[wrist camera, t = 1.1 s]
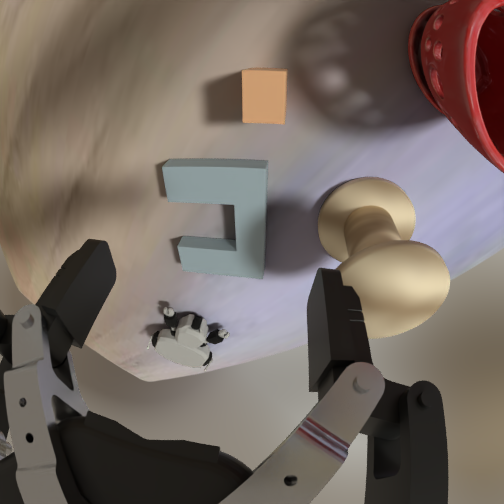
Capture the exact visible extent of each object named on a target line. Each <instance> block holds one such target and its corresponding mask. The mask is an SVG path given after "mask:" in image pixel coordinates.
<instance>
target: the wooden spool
mask: <svg viewBox="0 0 504 504" xmlns="http://www.w3.org/2000/svg"><path fill="white" fill-rule="evenodd" d="M414 227H415V211H414V207H413V205H412V203H411V201H410V199H409V198H408V196H407V195H406V193H405V192H404V191H403V190H402V189H401V188H400V187H399V186H398V185H396V184H395V183H393V182H391V181H389V180H386V179H383V178H379V177H363V178H357V179H354V180H351V181H349V182H346V183H344V184H343V185H341V186H339V187H338V188H337V189H335V190H334V191H333V192H332V193H331V194H330V195H329V196H328V197H327V199H326V200H325V201H324V203H323V205H322V207H321V209H320V212H319V216H318V233H319V238H320V241H321V244H322V245H323V247H324V249H325V250H326V251H327V252H328V253H329V254H330V255H331V256H332V257H333V258H335V259H336V260H338V261H340V262H343V263H341V264H340V265H339V266H338V267H337V268H336V269H335V270H340V272H341V276H342V281H343V285H346V286H352V287H353V289H354V290H355V291H356V293H357V294H358V296H359V297H360V302H361V306H362V312H363V315H364V323H365V325H366V330H367V336H368V339H371V338H372V339H374V338H384V337H389V336H394V335H397V334H400V333H403V332H406V331H408V330H411V329H413V328H415V327H416V326H418V325H420V324H421V323H423V322H424V321H426V320H427V319H428V318H430V317H431V316H432V315H433V314H434V313H435V312H436V311H437V310H438V309H439V307H440V306H441V305H442V303H443V302H444V300H445V298H446V296H447V294H448V291H449V287H450V275H449V272H448V269H447V267H446V265H445V263H444V261H443V259H442V257H441V256H440V254H439V253H438V252H437V251H436V250H434V249H433V248H432V247H430V246H428V245H426V244H423V243H420V242H416V241H411V240H410V238H411V236H412V234H413V231H414Z"/></svg>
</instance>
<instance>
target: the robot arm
mask: <svg viewBox="0 0 504 504" xmlns="http://www.w3.org/2000/svg"><path fill="white" fill-rule="evenodd" d="M115 281H116V268H115V265H114V262H113V259H112V256H111V252H110V249H109V246H108V243H107V242H106V241H102V240H95V239H88V240H87V241H86V242H85V243H84V244H83V246H82V247H81V248H80V250H77V251H76V252H75V253H73V254H72V255H71V256H69V257H68V258H67V260H66V261H65V262H64V264H63V265H62V266H61V269H59V270H58V272H57V273H56V276H54V278H53V279H52V280H51V282H50V283H49V285H48V286H47V288H46V289H45V291H44V292H43V294H42V295H41V297H40V298H39V300H38V301H37V303H36V304H35V305H32V304H30V305H27V306H24V307H22V308H21V309H20V310H19V311H18V312H17V313H16V314H15V315H4V314H3V313H2V312H1V310H0V354H1V355H2V356H3V358H2V361H1V363H0V504H309V503H310V502H311V501H312V500H313V499H314V498H315V497H316V496H317V495H318V493H319V492H320V491H321V490H322V489H323V488H324V486H325V485H326V484H327V483H328V482H329V481H330V479H331V478H332V477H333V476H334V474H335V473H336V472H337V471H338V469H339V468H340V467H341V466H342V464H343V463H344V461H345V459H346V457H347V455H348V452H347V451H348V448H349V446H350V444H351V443H352V442H353V440H354V439H355V438H356V436H357V435H358V433H362V434H365V435H368V448H367V477H366V491H365V503H364V504H448V451H447V437H446V427H445V419H444V410H443V403H442V397H441V394H440V391H439V390H438V388H437V387H436V386H435V385H434V384H432V383H431V382H428V381H418V382H416V383H414V384H413V385H412V386H411V387H409V386H405V385H402V384H399V383H395V382H392V381H389V380H387V379H385V378H384V377H383V375H382V374H381V372H380V371H379V370H378V369H377V368H376V367H375V366H374V365H373V363H372V359H371V353H370V347H369V341H368V336H367V330H366V325H365V323H364V315H363V312H362V306H361V302H360V297H359V296H358V294H357V293H356V291H355V290H354V289H353V287H352V286H346V285H343V281H342V276H341V272H340V270H334V269H325V268H319V269H318V270H317V273H316V276H315V279H314V283H313V286H312V289H311V292H310V295H309V298H308V303H307V327H308V355H309V356H308V357H309V392H318V399H319V400H318V403H317V404H316V405H315V406H314V407H313V409H312V410H311V411H310V412H309V413H308V414H307V416H306V417H305V418H304V419H303V420H302V421H301V423H300V424H299V425H298V426H297V427H296V428H295V429H294V430H293V431H292V432H291V434H290V435H289V436H288V437H287V438H286V439H285V440H284V441H283V442H282V443H281V444H280V445H279V446H278V447H277V448H276V449H275V450H274V451H273V452H272V453H271V454H270V455H269V456H268V457H267V458H266V459H265V460H264V461H263V462H262V463H261V464H260V465H259V466H258V467H257V468H255V469H254V470H253V471H252V470H251V469H250V468H249V467H247V466H246V465H245V464H243V463H242V462H241V461H239V460H238V459H236V458H234V457H232V456H231V455H229V454H226V453H224V452H221V451H220V447H218V446H212V445H206V444H200V443H195V442H190V441H185V440H147V439H144V438H142V437H140V436H139V435H137V434H135V433H134V432H132V431H131V430H129V429H127V428H126V427H124V426H122V425H121V424H119V423H118V422H116V421H114V420H111V419H109V418H106V417H103V416H101V415H98V414H96V413H93V412H91V411H89V409H88V407H87V405H86V403H85V402H84V400H83V399H82V397H81V395H80V392H79V388H78V384H77V379H76V375H75V370H74V366H73V361H72V355H71V352H70V351H69V349H70V347H71V345H74V346H76V347H79V348H82V346H83V344H84V342H85V340H86V338H87V336H88V334H89V332H90V329H91V327H92V325H93V323H94V321H95V319H96V318H97V316H98V314H99V312H100V310H101V308H102V306H103V304H104V302H105V300H106V298H107V297H108V295H109V293H110V291H111V289H112V287H113V286H114V284H115ZM9 428H10V433H11V438H12V443H13V447H14V452H13V453H11V452H12V447H11V445H10V443H9V442H6V438H7V434H8V430H9ZM6 454H7V455H8V456H6Z"/></svg>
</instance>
